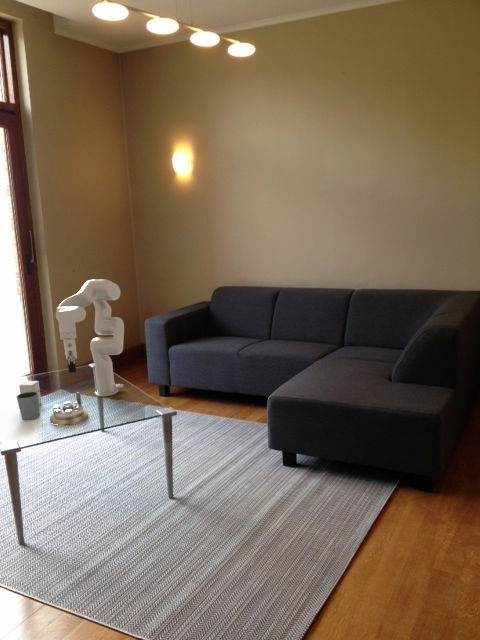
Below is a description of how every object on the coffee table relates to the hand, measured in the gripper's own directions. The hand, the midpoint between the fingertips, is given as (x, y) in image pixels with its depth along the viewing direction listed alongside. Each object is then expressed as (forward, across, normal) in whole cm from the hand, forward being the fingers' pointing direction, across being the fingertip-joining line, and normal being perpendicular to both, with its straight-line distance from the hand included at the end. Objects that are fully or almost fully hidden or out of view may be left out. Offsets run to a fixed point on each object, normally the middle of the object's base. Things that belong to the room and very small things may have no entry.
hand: (72, 369), depth 280 cm
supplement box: (+25, +31, +22) cm, 45 cm away
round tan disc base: (+25, +2, +4) cm, 25 cm away
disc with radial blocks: (+23, +2, +4) cm, 23 cm away
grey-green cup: (+25, +13, +22) cm, 36 cm away
